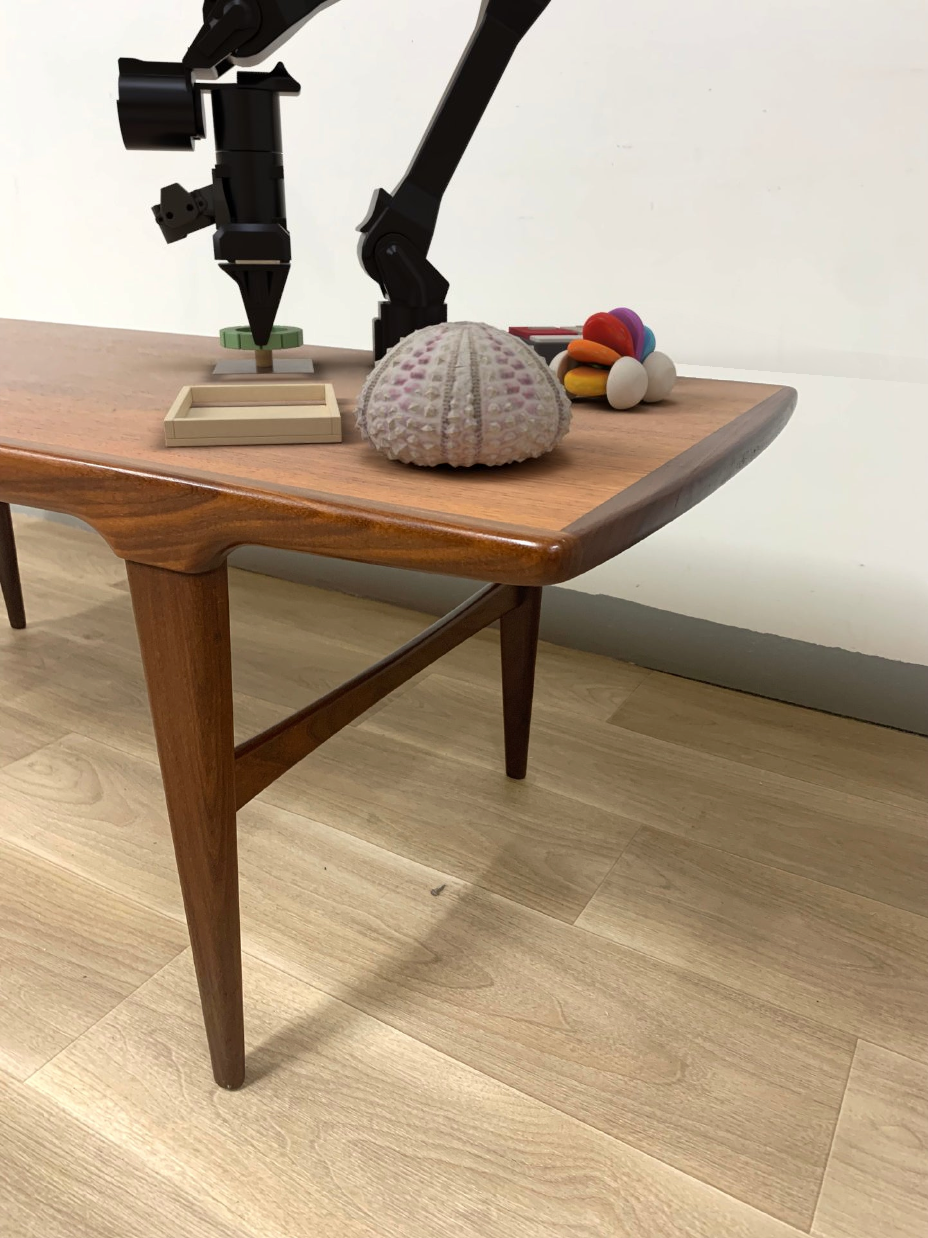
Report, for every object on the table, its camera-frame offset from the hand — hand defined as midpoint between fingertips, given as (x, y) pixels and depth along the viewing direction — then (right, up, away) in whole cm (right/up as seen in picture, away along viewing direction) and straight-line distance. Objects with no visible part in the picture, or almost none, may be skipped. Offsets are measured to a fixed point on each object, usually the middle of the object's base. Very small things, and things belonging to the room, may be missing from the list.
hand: (262, 339), depth 89 cm
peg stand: (0, -3, +1) cm, 3 cm away
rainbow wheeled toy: (+31, -8, -11) cm, 34 cm away
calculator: (+29, -2, +3) cm, 29 cm away
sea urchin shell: (+19, -16, -28) cm, 37 cm away
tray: (+4, -12, -21) cm, 24 cm away
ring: (0, 0, 0) cm, 0 cm away
